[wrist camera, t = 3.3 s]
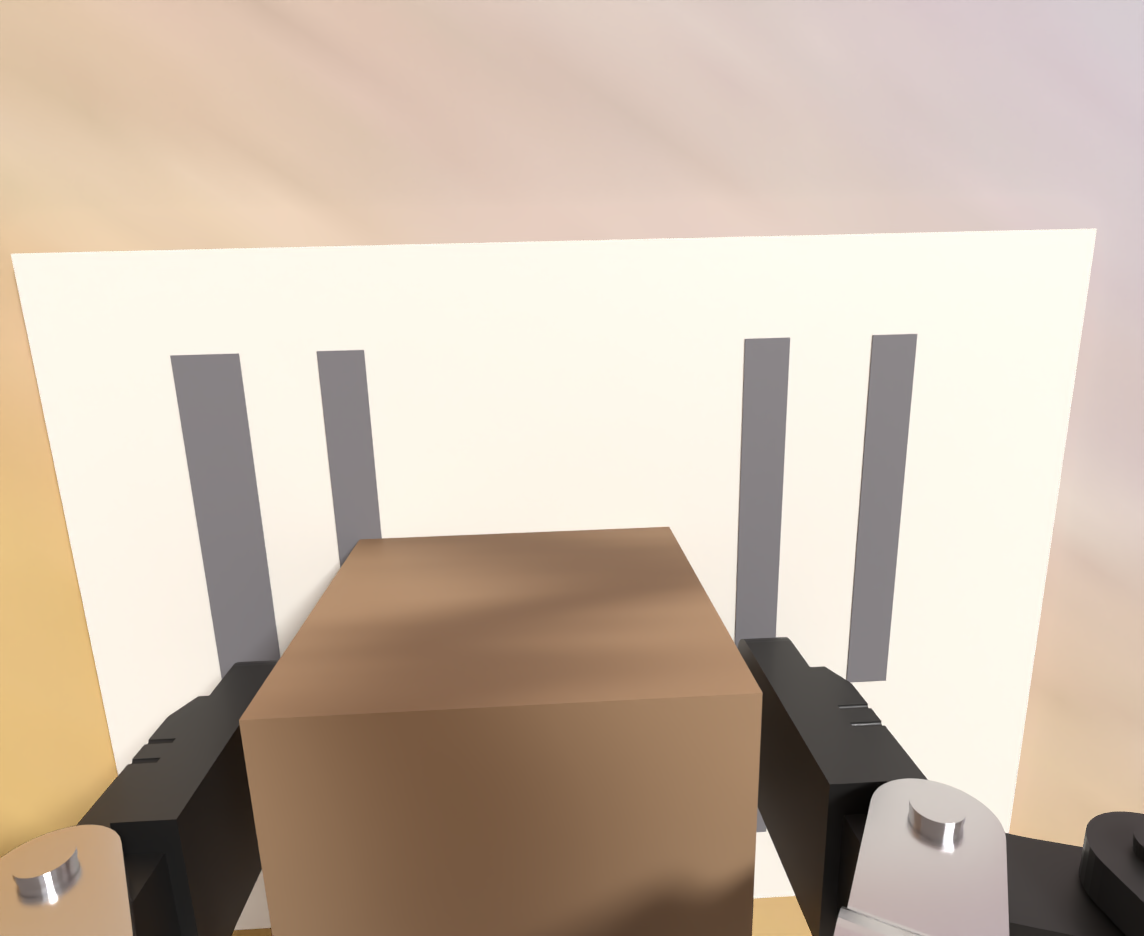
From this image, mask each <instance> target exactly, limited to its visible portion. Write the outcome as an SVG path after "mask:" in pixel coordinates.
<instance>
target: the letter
mask: <svg viewBox="0 0 1144 936" xmlns="http://www.w3.org/2000/svg"><path fill="white" fill-rule="evenodd" d="M1096 231H1097V229H1057V230H1014V231H971V232H927V233H884V234H841V235H798V236H755V237H712V238H669V239H626V240H583V241H539V242H496V243H453V244H410V245H367V246H324V247H281V248H238V249H195V250H151V251H108V252H65V253H22V254H11V257H12V262H13V267H14V272H15V277H16V281H17V286H18V291H19V296H20V301H21V306H22V310H23V315H24V320H25V325H26V330H27V335H28V340H29V344H30V349H31V354H32V359H33V364H34V369H35V374H36V378H37V383H38V388H39V393H40V398H41V403H42V408H43V412H44V417H45V422H46V427H47V432H48V437H49V442H50V446H51V451H52V456H53V461H54V466H55V471H56V476H57V480H58V485H59V490H60V495H61V500H62V505H63V509H64V514H65V519H66V524H67V529H68V534H69V539H70V543H71V548H72V553H73V558H74V563H75V568H76V573H77V577H78V582H79V587H80V592H81V597H82V602H83V607H84V611H85V616H86V621H87V626H88V631H89V636H90V641H91V645H92V650H93V655H94V660H95V665H96V670H97V674H98V679H99V684H100V689H101V694H102V699H103V704H104V708H105V713H106V718H107V723H108V728H109V733H110V738H111V742H112V747H113V752H114V757H115V762H116V767H117V772H118V775H119V774H120V773H121V772H122V771H123V769H124V768H125V767H126V766H127V765H128V764H132V759H133V757H134V756H135V755H136V754H137V753H138V751H139V750H140V749H141V748H142V747H143V746H144V744H148V740H149V738H150V737H151V736H152V735H153V734H154V732H155V731H156V730H157V729H158V728H159V726H160V725H161V724H162V723H163V722H164V721H165V719H166V718H167V717H168V716H169V715H171V714H172V713H174V712H175V711H177V710H178V709H180V708H181V707H183V706H184V705H186V704H187V703H189V702H190V701H192V700H193V699H195V698H196V697H198V696H209V695H210V694H211V693H212V691H213V690H214V689H215V688H216V686H217V685H218V684H219V683H220V681H221V680H222V679H223V677H224V676H225V675H226V674H227V672H228V671H229V670H230V668H231V667H232V666H233V665H234V664H235V663H237V662H247V661H268V660H279V659H280V658H281V656H282V655H283V653H284V652H285V650H286V649H287V647H288V646H289V644H290V643H291V641H292V640H293V638H294V637H295V635H296V634H297V632H298V631H299V629H300V628H301V626H302V625H303V623H304V622H305V620H306V619H307V617H308V616H309V614H310V613H311V611H312V610H313V608H314V607H315V605H316V604H317V602H318V601H319V599H320V598H321V596H322V595H323V593H324V592H325V590H326V589H327V587H328V586H329V584H330V583H331V581H332V580H333V578H334V577H335V575H336V574H337V572H338V571H339V569H340V568H341V566H342V565H343V563H344V562H345V560H346V559H347V557H348V556H349V554H350V553H351V551H352V550H353V548H354V547H355V545H356V544H357V542H358V541H359V539H381V538H405V537H430V536H454V535H478V534H503V533H527V532H551V531H576V530H600V529H624V528H649V527H670V529H671V531H672V533H673V534H674V536H675V538H676V540H677V542H678V543H679V545H680V547H681V549H682V550H683V552H684V554H685V556H686V558H687V559H688V561H689V563H690V565H691V566H692V568H693V570H694V572H695V574H696V575H697V577H698V579H699V581H700V582H701V584H702V586H703V588H704V590H705V591H706V593H707V595H708V597H709V599H710V600H711V602H712V604H713V606H714V607H715V609H716V611H717V613H718V615H719V616H720V618H721V620H722V622H723V623H724V625H725V627H726V629H727V631H728V632H729V634H730V636H731V638H732V639H733V641H734V643H735V645H736V647H738V643H739V641H740V640H741V639H752V638H773V637H788V638H789V639H790V640H791V641H792V643H793V644H794V645H795V647H796V648H797V650H798V651H799V652H800V654H801V655H802V657H803V658H804V659H805V661H806V662H807V664H808V665H809V666H810V667H822V666H825V667H826V668H828V669H830V670H831V671H833V672H834V673H836V674H838V675H839V676H841V677H842V678H844V679H846V680H847V681H849V682H850V683H852V684H853V686H854V687H855V688H856V690H857V691H858V692H859V693H860V695H861V696H862V697H863V698H864V700H865V701H866V702H867V703H868V708H872V710H873V711H874V712H875V714H876V715H877V716H878V717H879V719H880V720H881V723H882V726H886V727H887V729H888V730H889V731H890V732H891V734H892V735H893V736H894V738H895V739H896V740H897V741H898V743H899V744H900V745H901V746H902V748H903V749H904V750H905V751H906V753H907V754H908V755H909V756H910V758H911V759H912V760H913V762H914V763H915V764H916V765H917V767H918V768H919V769H920V770H921V772H922V773H923V774H924V775H925V777H926V778H927V779H928V780H931V781H935V782H940V783H943V784H946V785H949V786H952V787H954V788H956V789H959V790H961V791H963V792H965V793H967V794H969V795H971V796H972V797H974V798H975V799H977V800H978V801H980V802H981V803H983V804H984V805H985V806H986V807H987V808H989V809H990V810H991V811H992V812H993V814H994V815H995V816H996V817H997V818H998V820H999V821H1000V823H1001V824H1002V826H1003V829H1004V831H1005V833H1008V834H1009V828H1010V821H1011V814H1012V807H1013V801H1014V794H1015V787H1016V780H1017V773H1018V766H1019V759H1020V752H1021V746H1022V739H1023V732H1024V725H1025V718H1026V711H1027V704H1028V698H1029V691H1030V684H1031V677H1032V670H1033V663H1034V656H1035V649H1036V643H1037V636H1038V629H1039V622H1040V615H1041V608H1042V601H1043V595H1044V588H1045V581H1046V574H1047V567H1048V560H1049V553H1050V547H1051V540H1052V533H1053V526H1054V519H1055V512H1056V505H1057V498H1058V492H1059V485H1060V478H1061V471H1062V464H1063V457H1064V450H1065V444H1066V437H1067V430H1068V423H1069V416H1070V409H1071V402H1072V395H1073V389H1074V382H1075V375H1076V368H1077V361H1078V354H1079V347H1080V341H1081V334H1082V327H1083V320H1084V313H1085V306H1086V299H1087V293H1088V286H1089V279H1090V272H1091V265H1092V258H1093V251H1094V244H1095V238H1096ZM784 896H795V893H794V891H793V889H792V886H791V884H790V882H789V879H788V877H787V875H786V872H785V870H784V868H783V865H782V863H781V861H780V858H779V856H778V854H777V851H776V849H775V847H774V844H773V842H772V840H771V837H770V835H769V832H768V830H767V828H766V825H765V823H764V821H763V818H762V816H761V814H760V811H759V809H758V807H757V829H756V852H755V874H754V896H753V898H768V897H784ZM260 928H271V924H270V918H269V911H268V905H267V898H266V892H265V885H264V879H263V873H262V870H261V872H260V874H259V877H258V879H257V881H256V883H255V885H254V887H253V890H252V892H251V894H250V896H249V898H248V900H247V903H246V905H245V907H244V909H243V911H242V913H241V916H240V918H239V920H238V922H237V924H236V926H235V929H234V930H244V929H260Z"/></svg>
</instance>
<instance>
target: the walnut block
mask: <svg viewBox="0 0 1144 936" xmlns="http://www.w3.org/2000/svg"><path fill="white" fill-rule="evenodd" d="M762 695H763V693H762V691H761V689H760V688H759V686H758V684H757V682H756V680H755V679H754V677H753V675H752V673H751V672H750V670H749V668H748V666H747V664H746V663H745V661H744V659H743V657H742V656H741V654H740V652H739V650H738V648H737V647H736V645H735V643H734V641H733V639H732V638H731V636H730V634H729V632H728V631H727V629H726V627H725V625H724V623H723V622H722V620H721V618H720V616H719V615H718V613H717V611H716V609H715V607H714V606H713V604H712V602H711V600H710V599H709V597H708V595H707V593H706V591H705V590H704V588H703V586H702V584H701V582H700V581H699V579H698V577H697V575H696V574H695V572H694V570H693V568H692V566H691V565H690V563H689V561H688V559H687V558H686V556H685V554H684V552H683V550H682V549H681V547H680V545H679V543H678V542H677V540H676V538H675V536H674V534H673V533H672V531H671V529H670V527H649V528H624V529H600V530H576V531H551V532H527V533H503V534H478V535H454V536H430V537H405V538H381V539H359V541H358V542H357V544H356V545H355V547H354V548H353V550H352V551H351V553H350V554H349V556H348V557H347V559H346V560H345V562H344V563H343V565H342V566H341V568H340V569H339V571H338V572H337V574H336V575H335V577H334V578H333V580H332V581H331V583H330V584H329V586H328V587H327V589H326V590H325V592H324V593H323V595H322V596H321V598H320V599H319V601H318V602H317V604H316V605H315V607H314V608H313V610H312V611H311V613H310V614H309V616H308V617H307V619H306V620H305V622H304V623H303V625H302V626H301V628H300V629H299V631H298V632H297V634H296V635H295V637H294V638H293V640H292V641H291V643H290V644H289V646H288V647H287V649H286V650H285V652H284V653H283V655H282V656H281V658H280V659H279V661H278V662H277V664H276V665H275V667H274V668H273V670H272V671H271V673H270V674H269V676H268V677H267V679H266V680H265V682H264V683H263V685H262V686H261V688H260V689H259V691H258V692H257V694H256V695H255V697H254V698H253V700H252V701H251V703H250V704H249V706H248V707H247V709H246V710H245V712H244V713H243V715H242V716H241V718H240V719H239V725H240V731H241V738H242V744H243V750H244V757H245V763H246V770H247V776H248V783H249V789H250V795H251V802H252V808H253V815H254V821H255V828H256V834H257V840H258V847H259V853H260V860H261V866H262V873H263V879H264V885H265V892H266V898H267V905H268V911H269V918H270V924H271V930H272V936H752V919H753V896H754V874H755V852H756V829H757V807H758V784H759V762H760V740H761V717H762Z"/></svg>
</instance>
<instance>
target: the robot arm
mask: <svg viewBox="0 0 1144 936" xmlns="http://www.w3.org/2000/svg"><path fill="white" fill-rule="evenodd" d="M737 648H738V650H739V652H740V654H741V656H742V657H743V659H744V661H745V663H746V664H747V666H748V668H749V670H750V672H751V673H752V675H753V677H754V679H755V680H756V682H757V684H758V686H759V688H760V689H761V691H762V693H763V695H762V717H761V740H760V762H759V784H758V809H759V811H760V814H761V816H762V818H763V821H764V823H765V825H766V828H767V830H768V832H769V835H770V837H771V840H772V842H773V844H774V847H775V849H776V851H777V854H778V856H779V858H780V861H781V863H782V865H783V868H784V870H785V872H786V875H787V877H788V879H789V882H790V884H791V886H792V889H793V891H794V893H795V896H796V898H797V900H798V903H799V905H800V908H801V910H802V912H803V915H804V917H805V919H806V922H807V924H808V926H809V929H810V931H811V933H812V936H1144V814H1140V813H1133V812H1109V813H1103V814H1101V815H1098V816H1096V817H1094V818H1093V819H1092V820H1090V822H1089V823H1088V825H1087V828H1086V833H1085V838H1084V844H1083V847H1078V846H1072V845H1066V844H1061V843H1055V842H1049V841H1043V840H1037V839H1032V838H1026V837H1021V836H1016V835H1012V834H1008V833H1005V831H1004V829H1003V826H1002V824H1001V823H1000V821H999V820H998V818H997V817H996V816H995V815H994V814H993V812H992V811H991V810H990V809H989V808H987V807H986V806H985V805H984V804H983V803H981V802H980V801H978V800H977V799H975V798H974V797H972V796H971V795H969V794H967V793H965V792H963V791H961V790H959V789H956V788H954V787H952V786H949V785H946V784H943V783H940V782H935V781H931V780H928V779H927V778H926V777H925V775H924V774H923V773H922V772H921V770H920V769H919V768H918V767H917V765H916V764H915V763H914V762H913V760H912V759H911V758H910V756H909V755H908V754H907V753H906V751H905V750H904V749H903V748H902V746H901V745H900V744H899V743H898V741H897V740H896V739H895V738H894V736H893V735H892V734H891V732H890V731H889V730H888V729H887V727H886V726H882V723H881V720H880V719H879V717H878V716H877V715H876V714H875V712H874V711H873V710H872V708H868V703H867V702H866V701H865V700H864V698H863V697H862V696H861V695H860V693H859V692H858V691H857V690H856V688H855V687H854V686H853V684H852V683H850V682H849V681H847V680H846V679H844V678H842V677H841V676H839V675H838V674H836V673H834V672H833V671H831V670H830V669H828V668H826V667H825V666H822V667H810V666H809V665H808V664H807V662H806V661H805V659H804V658H803V657H802V655H801V654H800V652H799V651H798V650H797V648H796V647H795V645H794V644H793V643H792V641H791V640H790V639H789V638H788V637H773V638H752V639H741V640H740V641H739V643H738V647H737ZM278 661H279V660H268V661H247V662H237V663H235V664H234V665H233V666H232V667H231V668H230V670H229V671H228V672H227V674H226V675H225V676H224V677H223V679H222V680H221V681H220V683H219V684H218V685H217V686H216V688H215V689H214V690H213V691H212V693H211V694H210V695H209V696H198V697H196V698H195V699H193V700H192V701H190V702H189V703H187V704H186V705H184V706H183V707H181V708H180V709H178V710H177V711H175V712H174V713H172V714H171V715H169V716H168V717H167V718H166V719H165V721H164V722H163V723H162V724H161V725H160V726H159V728H158V729H157V730H156V731H155V732H154V734H153V735H152V736H151V737H150V738H149V740H148V744H144V746H143V747H142V748H141V749H140V750H139V751H138V753H137V754H136V755H135V756H134V757H133V759H132V764H128V765H127V766H126V767H125V768H124V769H123V771H122V772H121V773H120V774H119V775H118V776H117V778H116V779H115V780H114V781H113V782H112V784H111V785H110V786H109V787H108V788H107V790H106V791H105V792H104V793H103V794H102V796H101V797H100V798H99V799H98V800H97V801H96V803H95V804H94V805H93V806H92V807H91V809H90V810H89V811H88V812H87V813H86V815H85V816H84V817H83V818H82V819H81V821H80V822H79V823H78V824H77V825H76V826H72V827H67V828H63V829H59V830H56V831H52V832H49V833H46V834H44V835H41V836H39V837H36V838H34V839H32V840H30V841H28V842H26V843H24V844H22V845H20V846H18V847H17V848H15V849H13V850H12V851H10V852H8V853H7V854H5V855H4V856H3V857H1V858H0V936H231V935H232V933H233V931H234V929H235V926H236V924H237V922H238V920H239V918H240V916H241V913H242V911H243V909H244V907H245V905H246V903H247V900H248V898H249V896H250V894H251V892H252V890H253V887H254V885H255V883H256V881H257V879H258V877H259V874H260V872H261V870H262V866H261V860H260V853H259V847H258V840H257V834H256V828H255V821H254V815H253V808H252V802H251V795H250V789H249V783H248V776H247V770H246V763H245V757H244V750H243V744H242V738H241V731H240V725H239V719H240V718H241V716H242V715H243V713H244V712H245V710H246V709H247V707H248V706H249V704H250V703H251V701H252V700H253V698H254V697H255V695H256V694H257V692H258V691H259V689H260V688H261V686H262V685H263V683H264V682H265V680H266V679H267V677H268V676H269V674H270V673H271V671H272V670H273V668H274V667H275V665H276V664H277V662H278Z"/></svg>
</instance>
